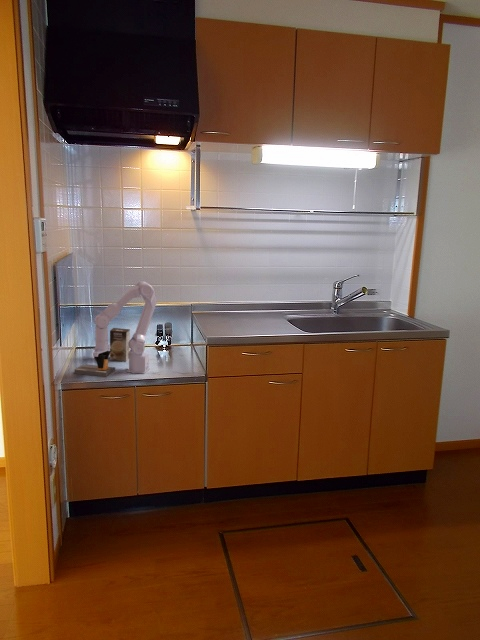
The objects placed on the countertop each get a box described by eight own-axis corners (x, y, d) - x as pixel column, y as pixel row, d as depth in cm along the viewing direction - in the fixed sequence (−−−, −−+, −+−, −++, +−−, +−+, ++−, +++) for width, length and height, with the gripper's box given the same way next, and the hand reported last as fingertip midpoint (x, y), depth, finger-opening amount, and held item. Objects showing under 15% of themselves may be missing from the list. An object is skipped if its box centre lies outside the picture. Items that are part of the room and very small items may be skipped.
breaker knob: (108, 368, 243) (108, 359, 242) (105, 370, 240) (105, 361, 239) (100, 367, 244) (100, 358, 243) (97, 369, 241) (97, 360, 240)
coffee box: (109, 360, 263) (108, 330, 259) (113, 356, 269) (113, 327, 266) (126, 361, 262) (126, 331, 259) (130, 358, 268) (130, 328, 265)
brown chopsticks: (115, 369, 249) (115, 367, 249) (113, 370, 247) (113, 368, 247) (85, 366, 252) (85, 364, 251) (83, 367, 249) (83, 365, 249)
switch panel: (113, 371, 246) (113, 367, 245) (106, 376, 238) (106, 372, 237) (82, 368, 248) (82, 364, 248) (74, 373, 240) (74, 369, 240)
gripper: (100, 335, 246) (100, 361, 249) (86, 342, 232) (87, 370, 235) (114, 336, 245) (114, 363, 248) (101, 344, 231) (101, 372, 234)
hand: (102, 367), depth 242 cm, fingers closed on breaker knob, 3 cm apart
